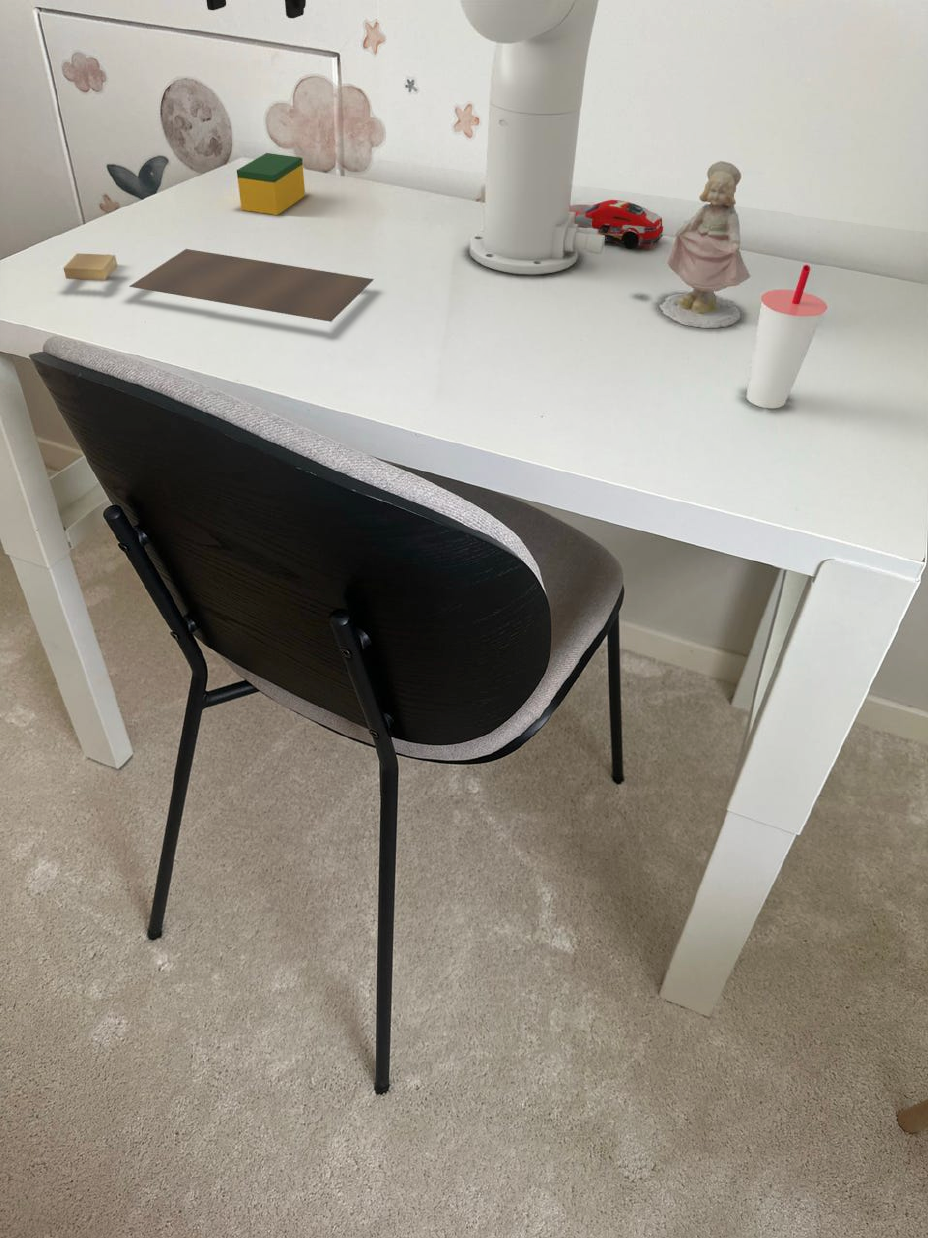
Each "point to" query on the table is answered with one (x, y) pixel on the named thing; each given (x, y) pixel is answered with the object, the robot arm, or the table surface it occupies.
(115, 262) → the wooden block
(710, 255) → the figurine
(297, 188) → the sponge
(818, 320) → the cup
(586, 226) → the race car
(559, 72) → the robot arm
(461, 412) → the table surface
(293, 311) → the board
